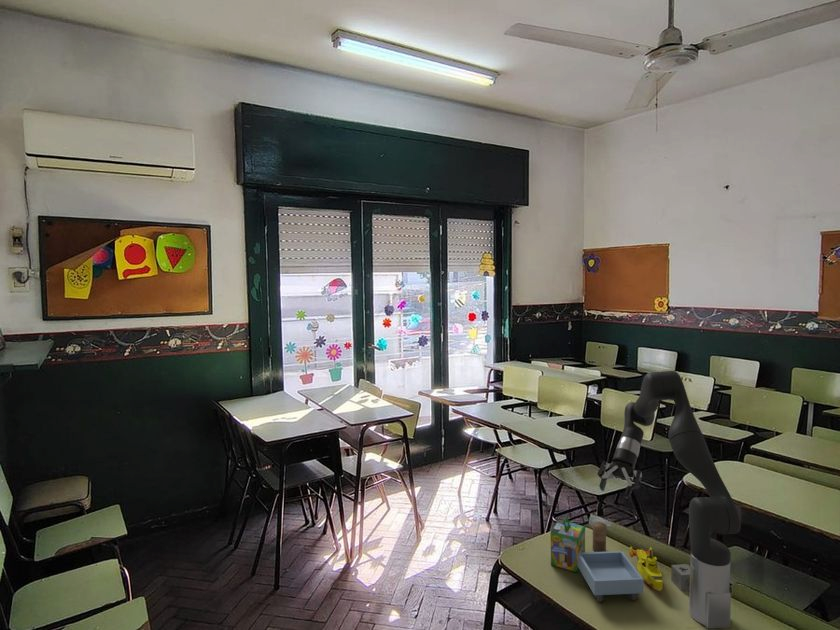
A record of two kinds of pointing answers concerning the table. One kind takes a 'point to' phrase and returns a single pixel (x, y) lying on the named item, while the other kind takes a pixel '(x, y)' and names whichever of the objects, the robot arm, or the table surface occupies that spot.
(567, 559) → the chalk box
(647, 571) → the yellow toy submarine
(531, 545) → the table surface
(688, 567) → the grey cube with hole
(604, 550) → the cylinder
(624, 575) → the wheeled cart
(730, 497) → the robot arm
